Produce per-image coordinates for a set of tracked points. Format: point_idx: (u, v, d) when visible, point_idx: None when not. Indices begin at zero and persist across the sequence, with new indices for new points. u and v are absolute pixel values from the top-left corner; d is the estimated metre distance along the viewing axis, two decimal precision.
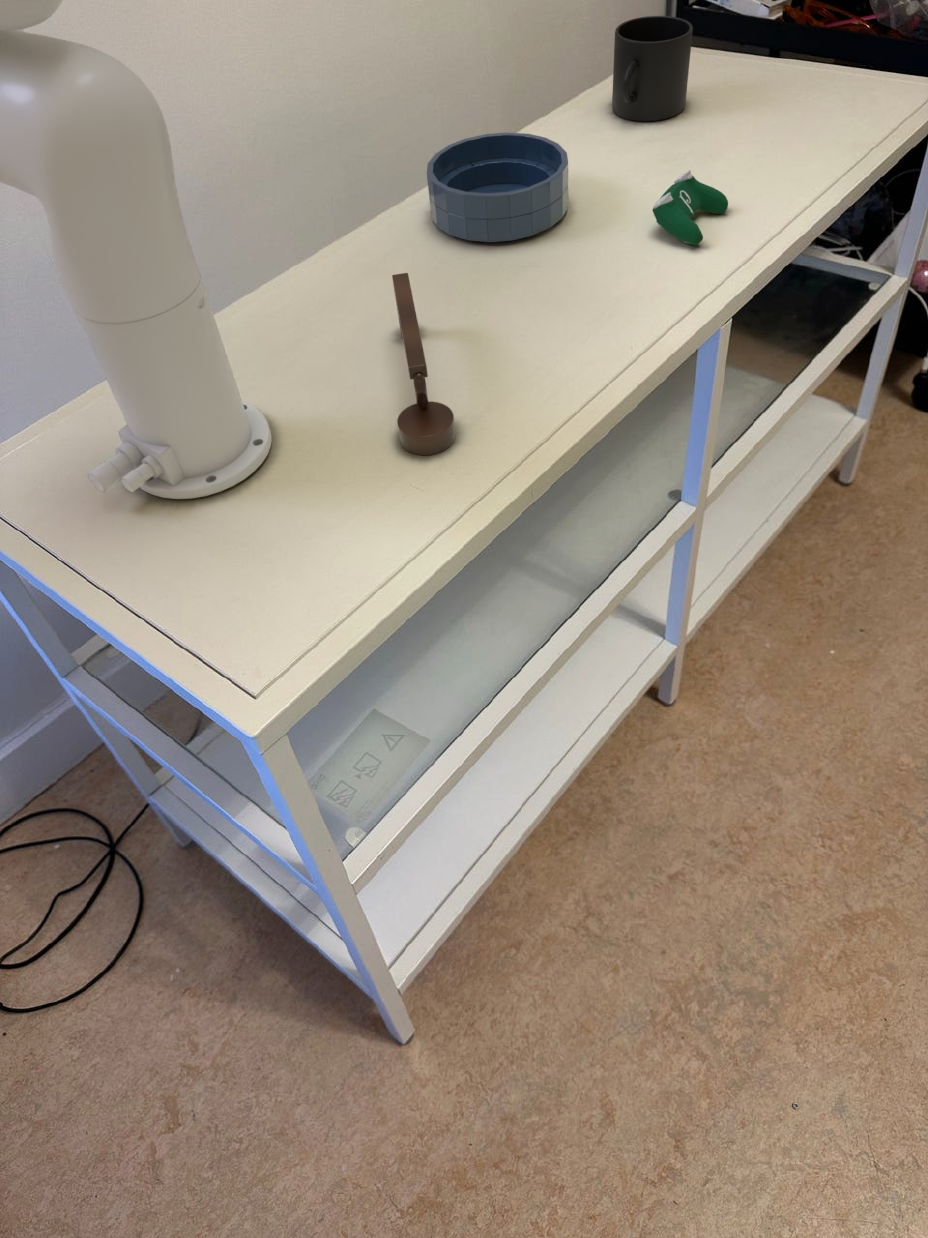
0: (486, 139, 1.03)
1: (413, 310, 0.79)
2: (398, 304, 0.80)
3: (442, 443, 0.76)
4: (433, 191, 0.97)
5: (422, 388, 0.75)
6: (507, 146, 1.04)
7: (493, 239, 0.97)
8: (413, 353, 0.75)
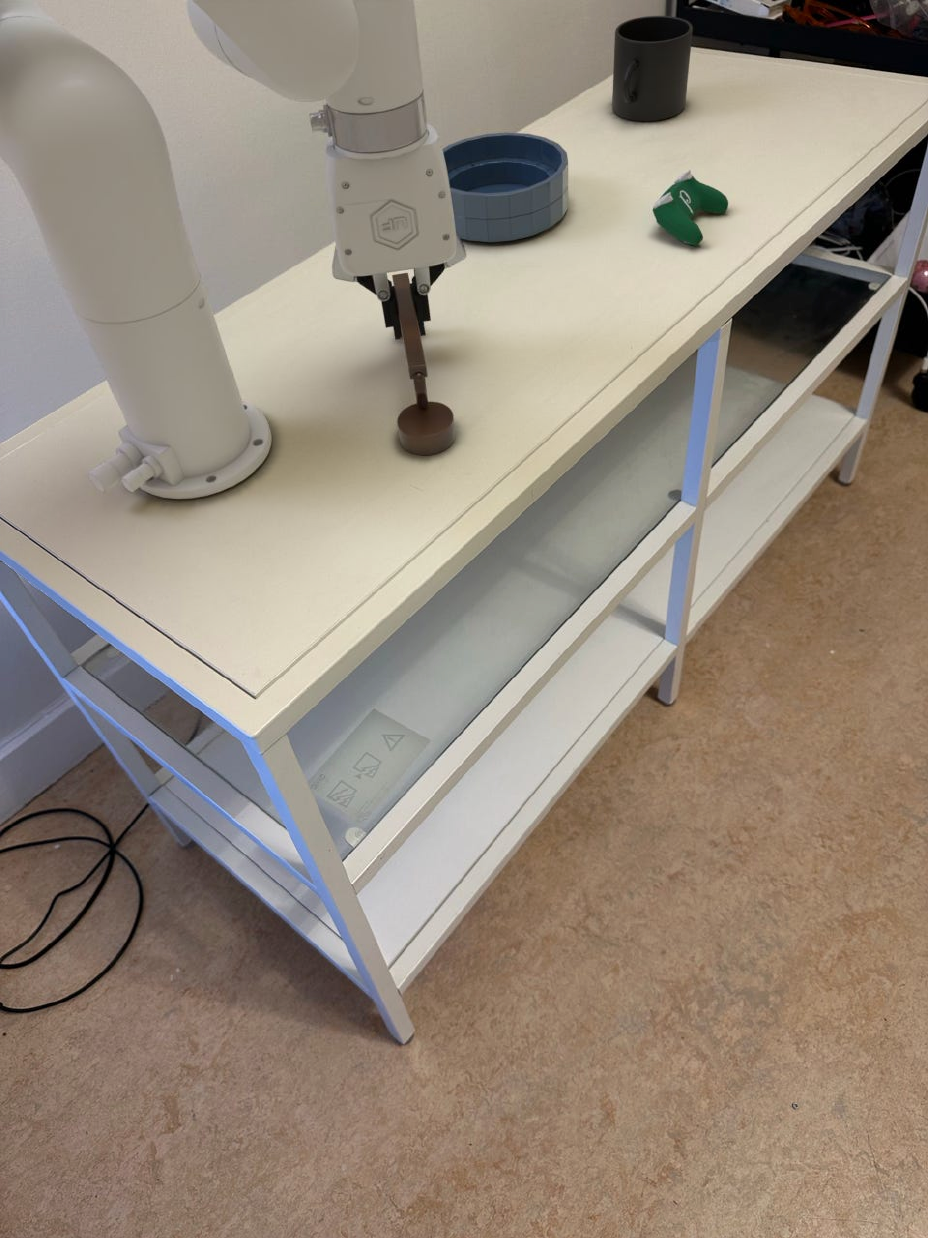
0: (486, 139, 1.03)
1: (413, 310, 0.79)
2: (398, 304, 0.80)
3: (442, 443, 0.76)
4: None
5: (422, 388, 0.75)
6: (507, 146, 1.04)
7: (493, 239, 0.97)
8: (413, 353, 0.75)
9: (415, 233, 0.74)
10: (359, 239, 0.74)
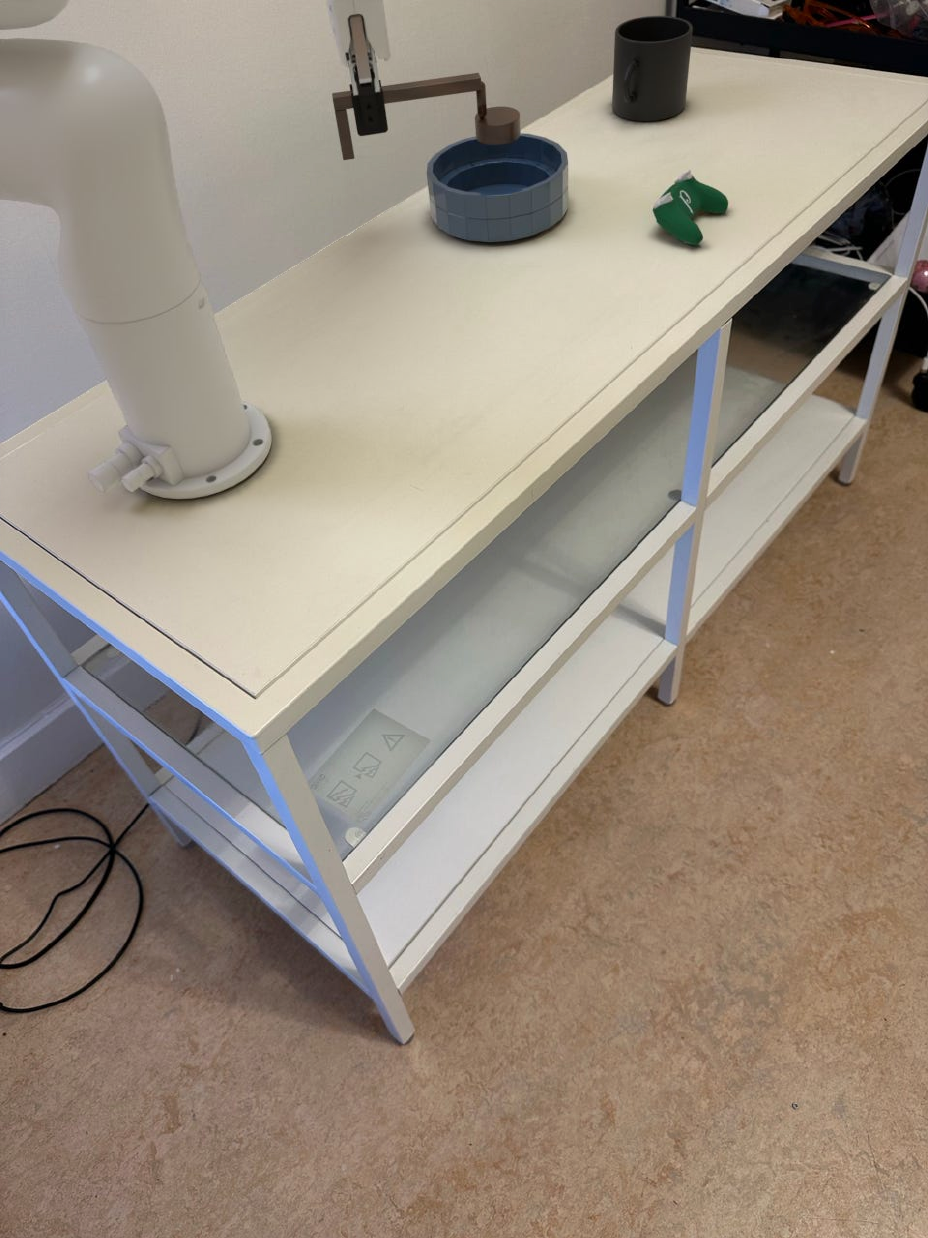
0: None
1: (397, 84, 0.92)
2: (384, 90, 0.91)
3: None
4: (433, 191, 0.97)
5: None
6: (507, 146, 1.04)
7: (493, 239, 0.97)
8: (461, 77, 0.92)
9: None
10: None
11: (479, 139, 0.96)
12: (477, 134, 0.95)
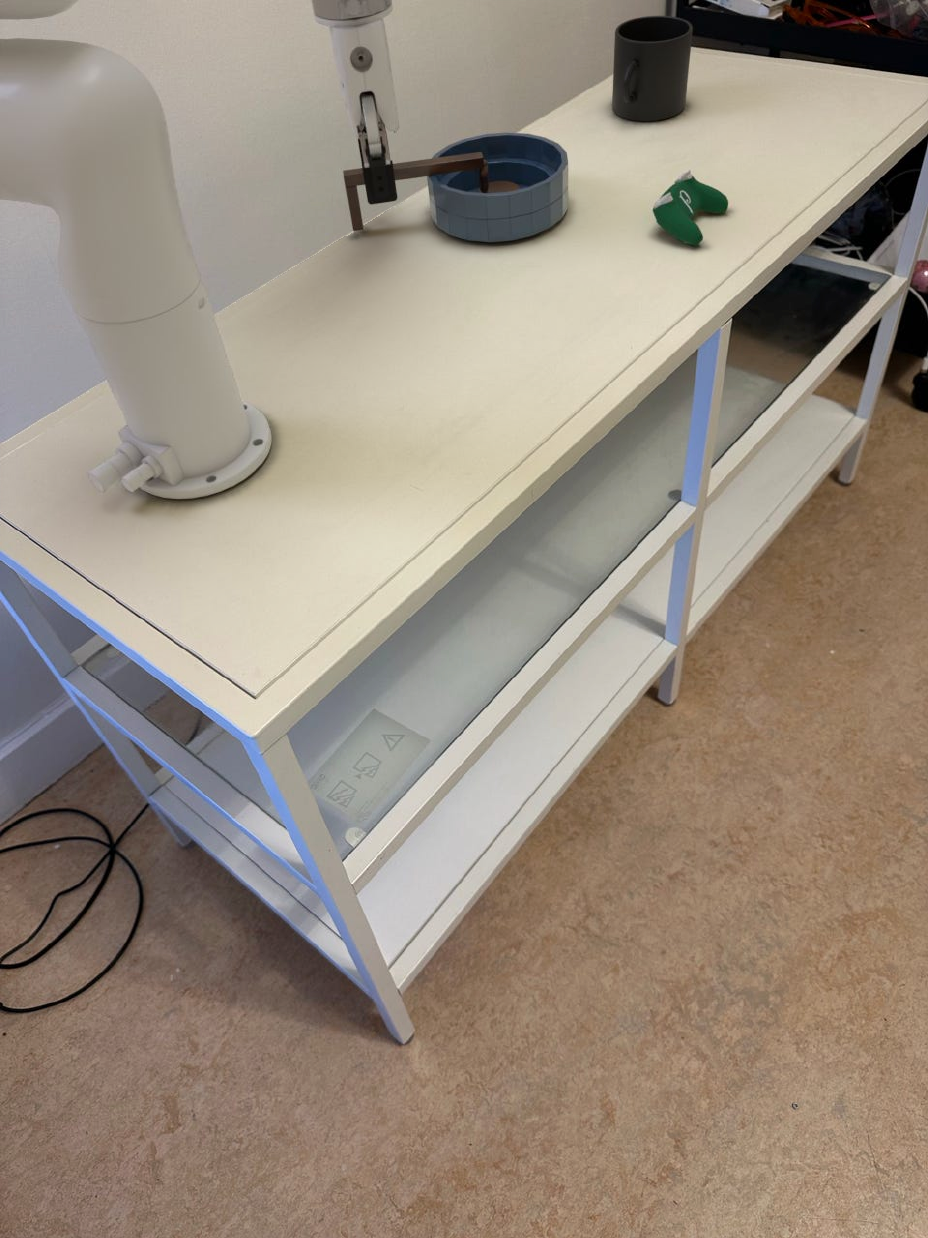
0: (486, 139, 1.03)
1: (404, 162, 0.97)
2: None
3: None
4: (433, 191, 0.97)
5: None
6: (507, 146, 1.04)
7: (493, 239, 0.97)
8: (465, 156, 0.97)
9: None
10: (394, 93, 0.89)
11: None
12: None
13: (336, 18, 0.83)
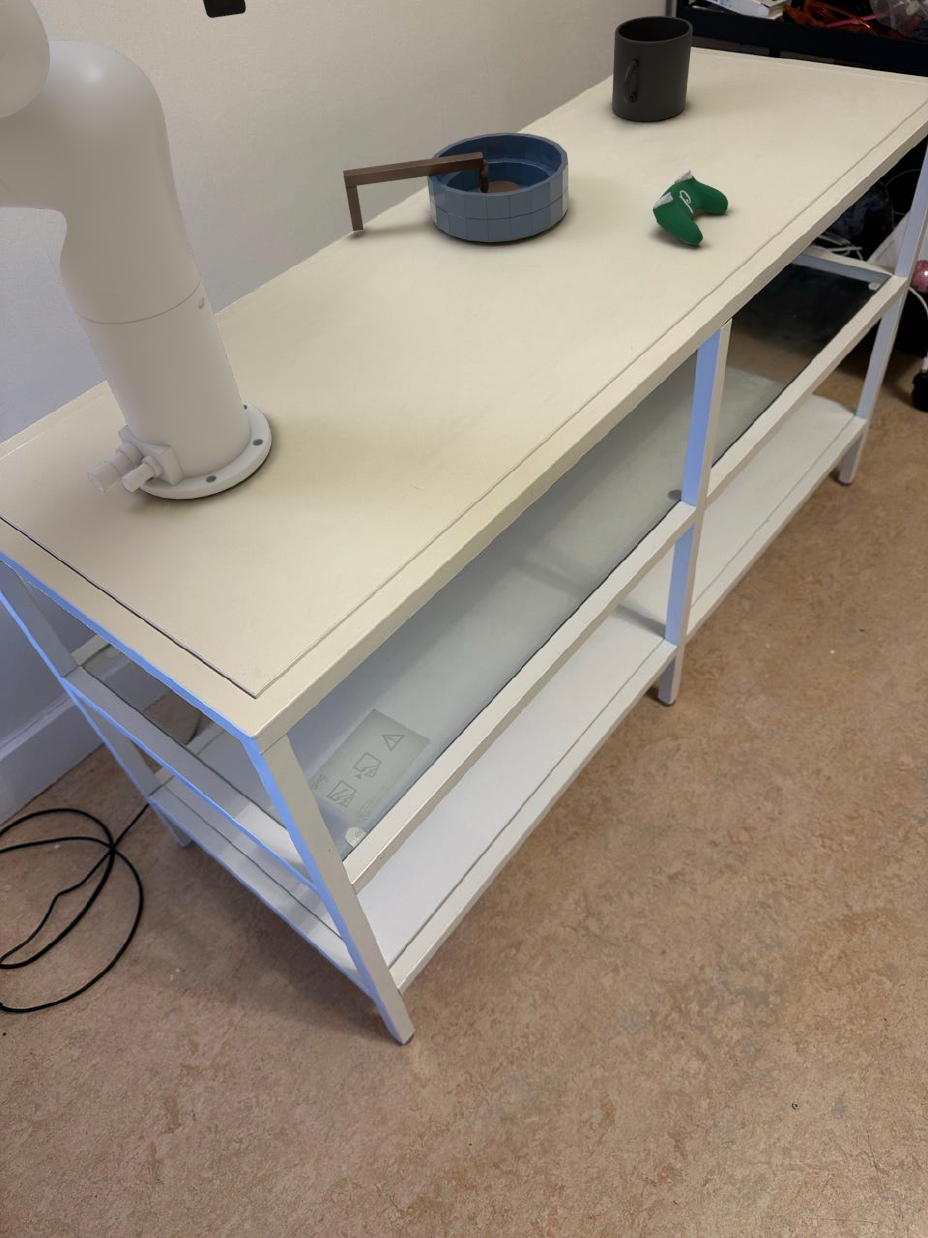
0: (486, 139, 1.03)
1: (404, 162, 0.97)
2: (392, 169, 0.97)
3: None
4: (433, 191, 0.97)
5: None
6: (507, 146, 1.04)
7: (493, 239, 0.97)
8: (465, 156, 0.97)
9: None
10: None
11: None
12: None
13: None
